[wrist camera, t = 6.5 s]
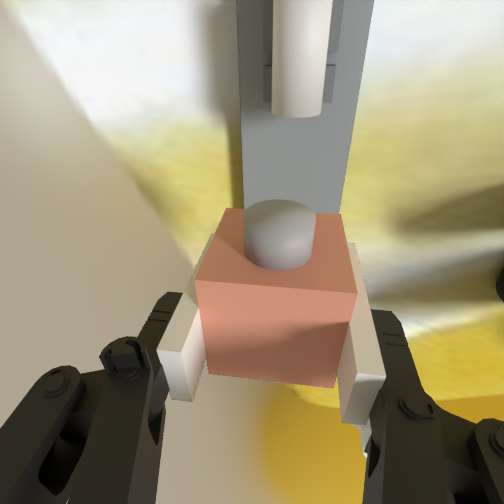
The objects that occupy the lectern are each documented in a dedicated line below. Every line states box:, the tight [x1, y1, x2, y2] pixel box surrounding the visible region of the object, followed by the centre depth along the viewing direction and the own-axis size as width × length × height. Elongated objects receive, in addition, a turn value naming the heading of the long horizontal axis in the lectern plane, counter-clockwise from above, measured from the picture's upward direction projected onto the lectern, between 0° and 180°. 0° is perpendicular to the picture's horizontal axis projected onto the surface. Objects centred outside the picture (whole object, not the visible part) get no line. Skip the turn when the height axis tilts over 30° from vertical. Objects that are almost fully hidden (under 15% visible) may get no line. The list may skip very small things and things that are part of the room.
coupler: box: [194, 199, 358, 389], centre depth 13 cm, size 8×5×5 cm, turn 1°
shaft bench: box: [236, 0, 374, 214], centre depth 23 cm, size 24×8×6 cm, turn 1°
